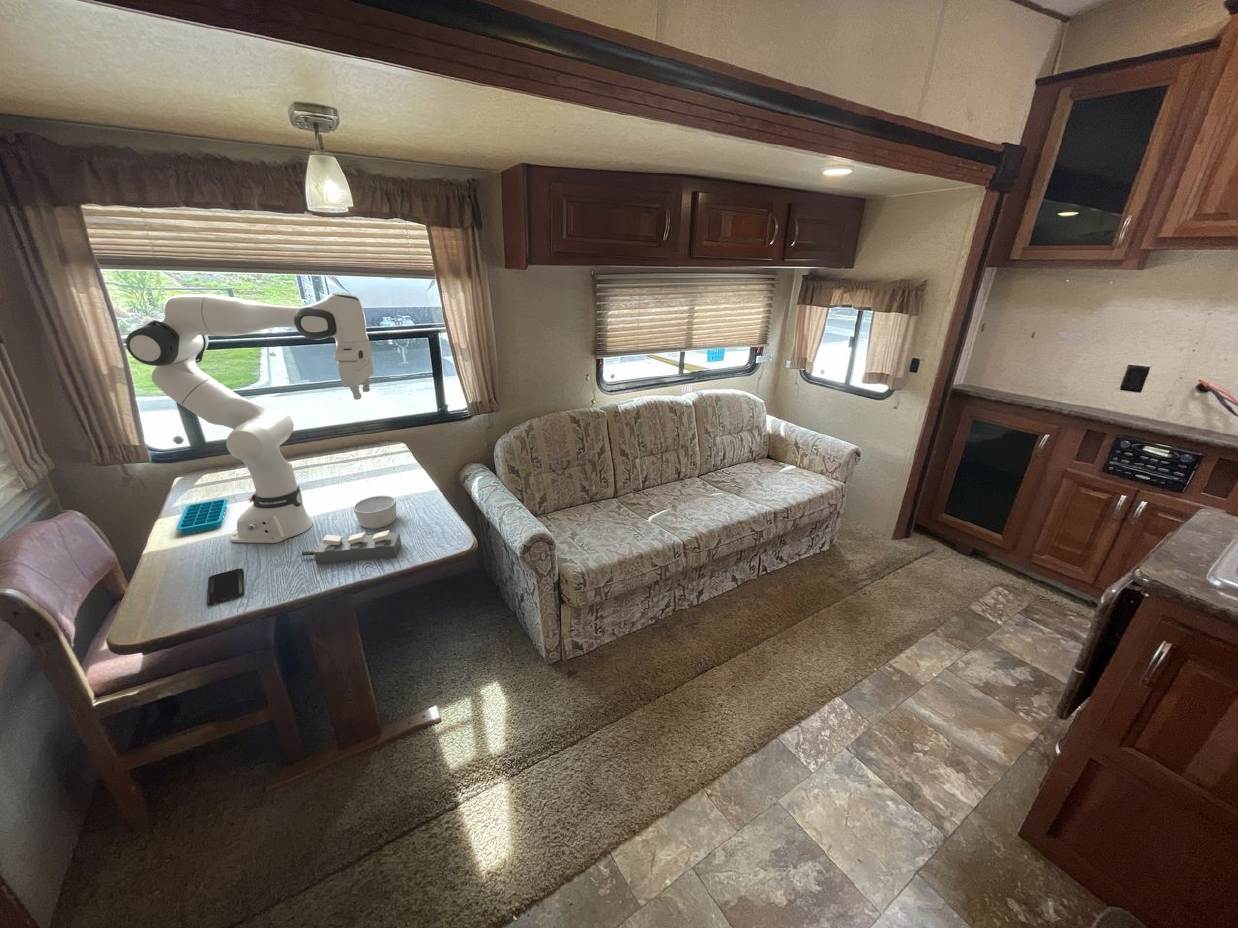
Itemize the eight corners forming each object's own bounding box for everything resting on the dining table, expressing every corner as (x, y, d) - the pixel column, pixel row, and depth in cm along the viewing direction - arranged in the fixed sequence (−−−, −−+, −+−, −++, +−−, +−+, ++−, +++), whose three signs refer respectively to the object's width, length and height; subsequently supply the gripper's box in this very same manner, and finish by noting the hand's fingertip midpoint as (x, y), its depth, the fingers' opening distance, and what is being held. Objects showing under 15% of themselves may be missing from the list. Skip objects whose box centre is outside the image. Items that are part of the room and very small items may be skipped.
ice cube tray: (178, 538, 156) (175, 529, 155) (189, 512, 172) (186, 504, 171) (223, 529, 162) (220, 521, 161) (230, 505, 178) (227, 498, 177)
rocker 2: (349, 544, 146) (347, 540, 146) (352, 539, 149) (350, 535, 148) (364, 540, 147) (362, 536, 146) (366, 535, 149) (364, 531, 149)
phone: (242, 567, 140) (243, 593, 129) (243, 570, 141) (244, 597, 130) (208, 576, 136) (205, 604, 125) (209, 579, 136) (207, 608, 125)
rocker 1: (322, 543, 144) (322, 539, 144) (326, 538, 147) (326, 534, 147) (338, 545, 146) (339, 541, 145) (342, 540, 148) (342, 536, 148)
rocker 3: (374, 542, 148) (372, 538, 147) (376, 537, 150) (374, 533, 150) (388, 538, 148) (386, 534, 147) (390, 533, 151) (389, 529, 150)
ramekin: (352, 532, 161) (349, 514, 158) (361, 514, 173) (357, 497, 170) (395, 528, 164) (392, 510, 162) (401, 510, 176) (398, 493, 174)
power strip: (298, 565, 143) (294, 552, 141) (308, 551, 150) (305, 538, 148) (395, 557, 148) (393, 544, 146) (401, 543, 155) (399, 531, 154)
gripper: (353, 345, 154) (361, 387, 159) (331, 356, 136) (340, 403, 141) (374, 345, 155) (381, 387, 160) (355, 355, 137) (364, 403, 142)
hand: (362, 395), depth 150 cm, fingers open, 8 cm apart
